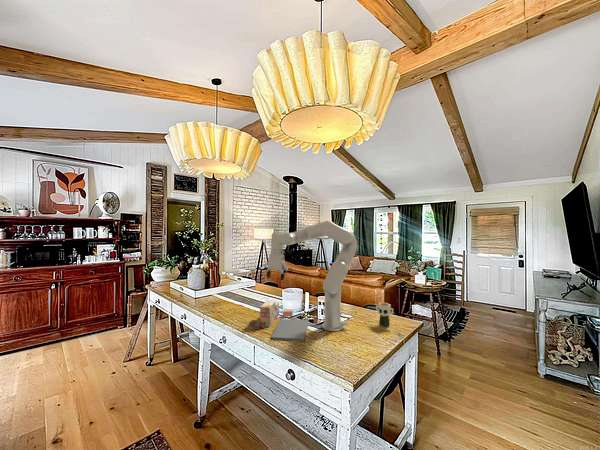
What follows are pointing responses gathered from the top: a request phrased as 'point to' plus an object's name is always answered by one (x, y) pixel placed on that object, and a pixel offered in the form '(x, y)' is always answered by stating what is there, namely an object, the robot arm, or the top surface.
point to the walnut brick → (255, 324)
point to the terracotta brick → (287, 313)
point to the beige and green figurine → (384, 313)
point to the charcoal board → (291, 330)
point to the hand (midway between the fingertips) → (275, 278)
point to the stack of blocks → (269, 313)
